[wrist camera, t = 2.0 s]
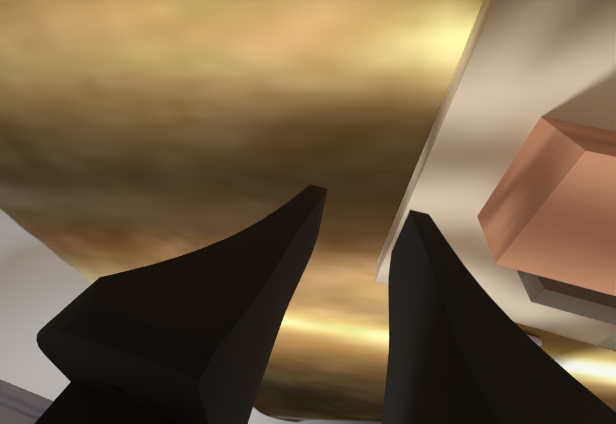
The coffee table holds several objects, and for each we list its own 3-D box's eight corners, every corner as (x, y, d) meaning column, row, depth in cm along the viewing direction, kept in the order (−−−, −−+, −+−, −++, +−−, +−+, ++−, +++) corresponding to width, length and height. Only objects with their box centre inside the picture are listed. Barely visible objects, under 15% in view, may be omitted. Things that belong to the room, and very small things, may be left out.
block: (586, 243, 16) (632, 300, 13) (477, 216, 17) (495, 264, 13) (687, 145, 12) (786, 192, 9) (540, 116, 13) (585, 150, 10)
